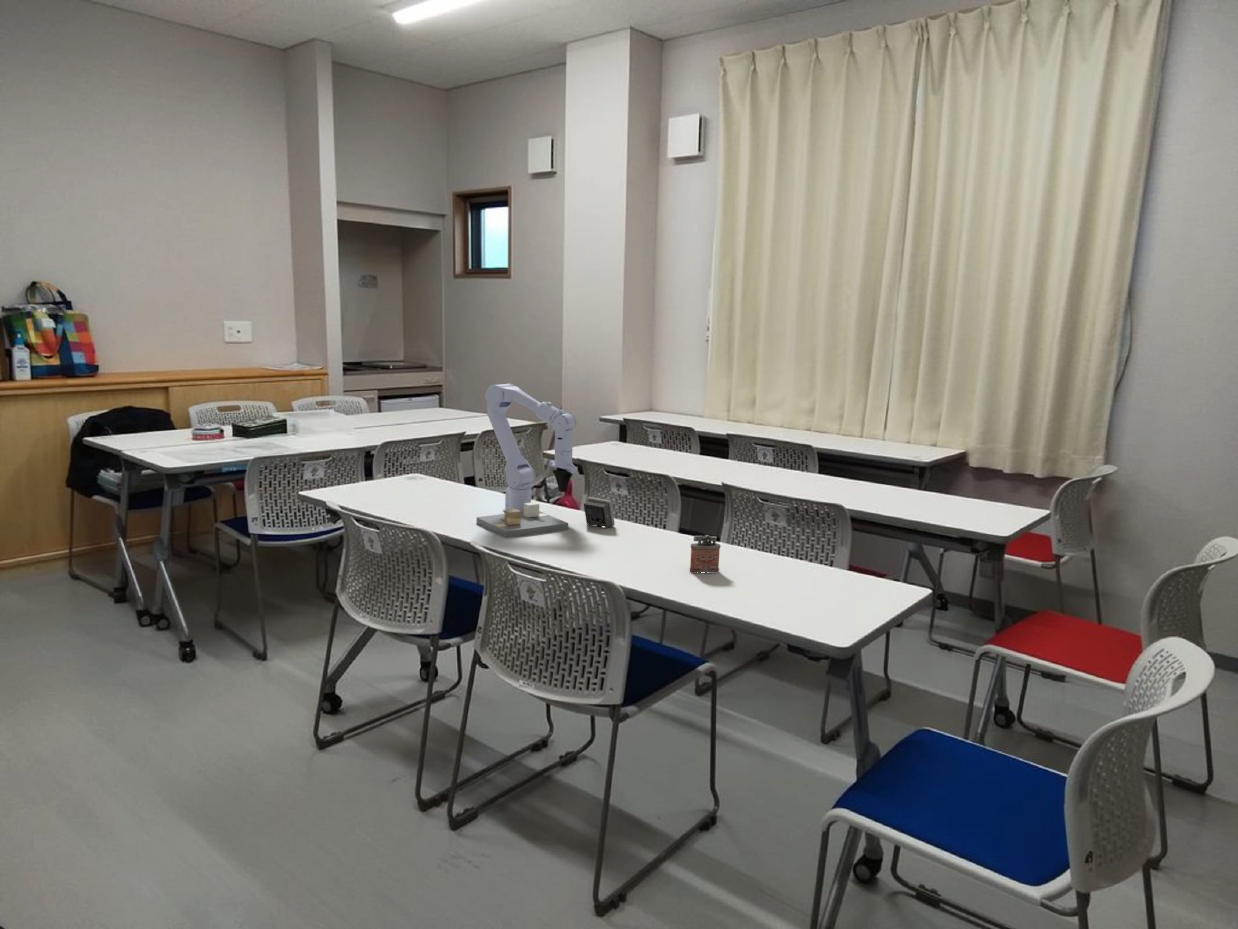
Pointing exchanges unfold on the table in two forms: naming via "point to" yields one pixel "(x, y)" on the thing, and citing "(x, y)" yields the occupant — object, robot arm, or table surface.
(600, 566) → the table surface
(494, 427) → the robot arm
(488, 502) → the table surface
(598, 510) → the electrical switch
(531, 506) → the switch white
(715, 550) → the lighter
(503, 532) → the grey base plate
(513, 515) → the wooden block
